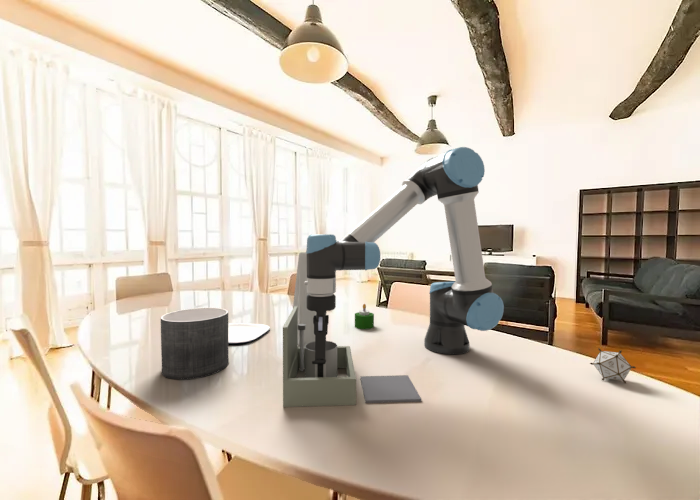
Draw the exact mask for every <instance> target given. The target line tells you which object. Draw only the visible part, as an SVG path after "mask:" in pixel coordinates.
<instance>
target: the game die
mask: <svg viewBox="0 0 700 500" xmlns="http://www.w3.org/2000/svg"><path fill="white" fill-rule="evenodd" d="M597 350H598V351H599V352H598V354H597V356H596V358H595V360H594V361H593V362H590V363H589V364H590V365H593V366H594V367H595V368H596V370H597V372H599V374H600V375H601V377H602V378H601V381H602V380H603V381H605V379H608V380H616V381H622V382H623V383H624V384H627V381H626V380H625V379H626V378H627V376H628V374H629V373H630V371H631V370H632V369H636V366H634V365H631V364H630V363H629V361H628V360H627V359H626V358H625V356H623V354H622V352H623V350H619V351H618V352H617V351H605V350H602V349H601V348H600V347H598V348H597Z"/></svg>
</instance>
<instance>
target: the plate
mask: <svg viewBox="0 0 700 500" xmlns="http://www.w3.org/2000/svg"><path fill="white" fill-rule="evenodd" d="M270 329H271V328H270V325H267V324H263V323H245V322H244V323H243V322H241V323H240V322H239V323H238V322H236V323H235V322H228V345H229V344H245V343H249V342H252V341H254V340H257V339H258V338H260V337H261V336H264V334H266V333H268V332H269V330H270Z"/></svg>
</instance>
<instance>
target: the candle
mask: <svg viewBox="0 0 700 500" xmlns="http://www.w3.org/2000/svg"><path fill="white" fill-rule="evenodd" d="M366 308H367V305H366V304H365V303H364V304H363V305H362V309H361V310H359V312H355V313H354V328H355V329H358V330H371V329H374V328H375V313H373V312H370V310H367V309H366Z"/></svg>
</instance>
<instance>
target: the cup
mask: <svg viewBox="0 0 700 500" xmlns="http://www.w3.org/2000/svg"><path fill="white" fill-rule="evenodd" d="M337 346H338V344H337V343H336V342H333V341H330V340H329V341H328V340H326V346H325V360H326V377H338V368H337ZM321 359H322V358H321ZM312 361H315V341H314V342H310V343H307V344H306V345H305V369H304V378H315V364H312Z"/></svg>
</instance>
